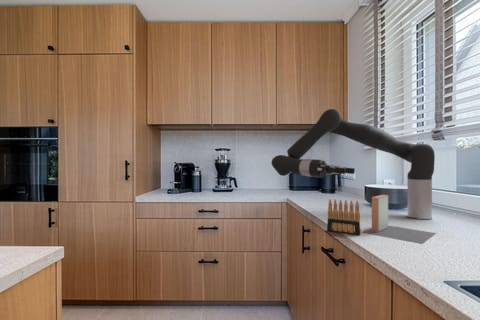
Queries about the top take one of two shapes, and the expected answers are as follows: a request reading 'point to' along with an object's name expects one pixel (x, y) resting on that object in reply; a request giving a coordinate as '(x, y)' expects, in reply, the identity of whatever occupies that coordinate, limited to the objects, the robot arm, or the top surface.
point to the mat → (403, 234)
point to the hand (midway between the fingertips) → (349, 171)
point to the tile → (379, 213)
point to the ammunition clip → (343, 218)
